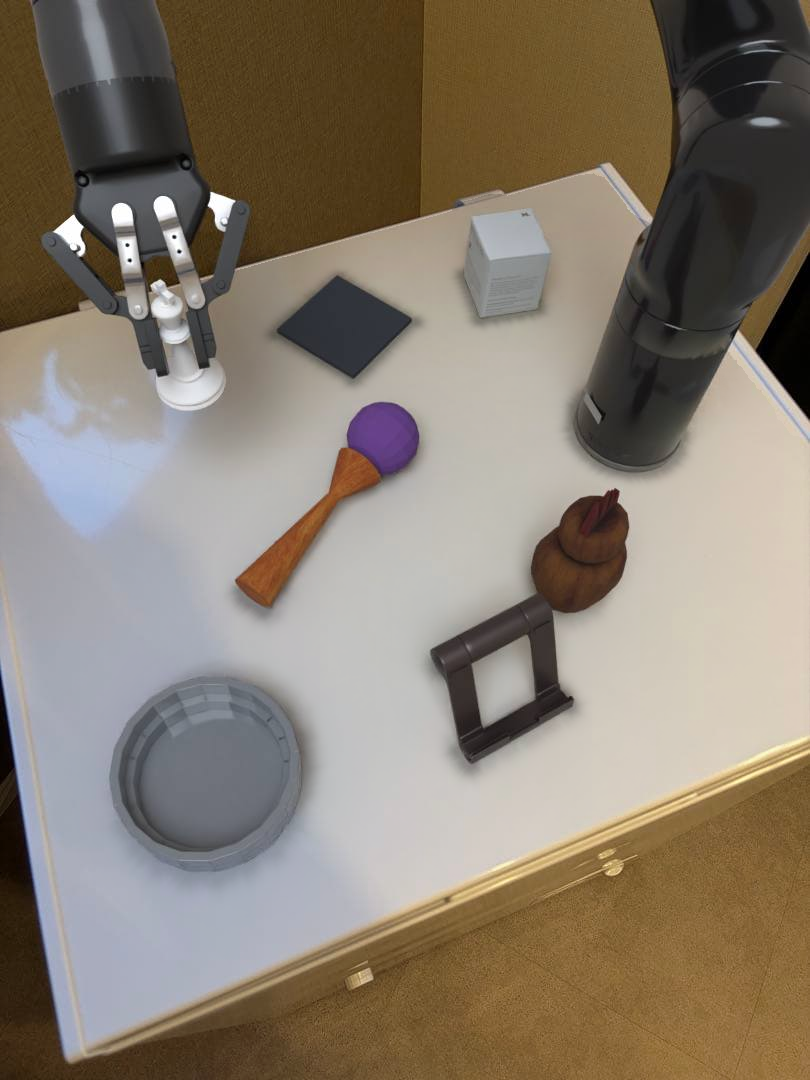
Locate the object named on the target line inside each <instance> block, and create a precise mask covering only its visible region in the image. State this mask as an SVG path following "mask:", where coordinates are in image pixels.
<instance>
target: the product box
mask: <svg viewBox="0 0 810 1080" xmlns="http://www.w3.org/2000/svg"><path fill="white" fill-rule="evenodd" d="M469 226H470V227H469V232H468V239H467V246H466V253H465V254H466V255H465V259H464V268H463V278H464V280H465V282H466V284H467V286H468V290H469V292H470V294H471V297H472V300H473V302H474V305H475V309H476V312H477V315H478V317H479V318H480V319H484V318H485V319H486V318H492V317H497V316H503V315H508V314H510V315H511V314H514V313H521V312H529V311H535V310H538V309H539V304H540V301H541V296H542V292H543V289H544V285H545V281H546V277H547V274H548V270H549V266H550V261H551V258H552V255H553V252H552V250H551V247H550V245H549V243H548V241H547V239H546V236H545V234H544V231H543V228H542V226H541V225H540V224H539V221H538V218H537V216H536V215H535V212H534V210H533V209H532V208H531V207H529V208H522V209H516V210H515V209H514V210H509V211H508V210H507V211H501V212H494V213H486V214H478V215H473V216H471V218H470V225H469Z"/></svg>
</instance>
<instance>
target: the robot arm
mask: <svg viewBox="0 0 810 1080" xmlns="http://www.w3.org/2000/svg"><path fill="white" fill-rule="evenodd" d="M29 2H30V6H31V8H32V15H33V18H34V25H35V32H36V39H37V40H36V41H37V45H38V51H39V56H40V60H41V61H40V62H41V64H42V68H43V72H44V76H45V79H46V83H47V86H48V91H49V93H50V97H51V102H52V106H53V109H54V112H55V116H56V120H57V124H58V127H59V131H60V135H61V139H62V142H63V146H64V150H65V154H66V157H67V162H68V165H69V168H70V172H71V176H72V180H73V184H74V185H73V186H74V197H73V201H72V206H71V208H72V214H73V215H71V216H70V217H69V218H68V219H66V220H65V221H64V222H63V223H62V224H61V225H60V226H58V227H57V228H55V230H53V231H51V230H50V231H46V232H44V233H43V234H42V236H41V238H40V243H41V246H42V248H43V249H44V250H45V251H46V252H47V254H49V256H50V257H51V258H52V259H53V261H55V262H56V264H57V265H58V266H59V267H60V268H61V269H62V270H63V271H64V272H65V274H66V275H67V276H68V277H69V278H70V279H71V280H72V281H73V282H74V284H75V285H76V286H77V287H78V288H79V289H80V291H82V293H83V294H84V295H85V296H86V297H87V298H88V299H89V301H91V303H92V304H93V305H94V306H95V307H96V308H97V310H98V311H99V312H101V313H102V314H104V315H112V316H117V317H123V318H126V319H127V320H128V321H130V323H131V324H132V326H133V330H134V333H135V334H134V335H135V337H136V341H137V345H138V348H139V353H140V356H141V360H142V363H143V365H144V366H145V368H146V369H147V370H155V373H156V375H157V376H158V377H163V376H168V375H169V374H170V371H169V366H168V362H167V359H168V358H167V354H166V351H165V347H164V343H163V342H164V341H162V340H161V338H160V335H159V327H160V325H159V323H158V319H157V318H156V317H155V316H154V315H153V313H152V310H151V305H152V303H151V299H150V293H149V286H148V275H147V269H146V262H148V261H150V260H152V259H154V258H157V257H164V258H170V259H171V261H172V262H171V263H172V264H173V267H174V270H175V273H176V276H177V278H178V281H179V284H180V286H181V289H182V292H183V295H184V298H185V304H186V308H187V311H186V312H185V317H186V321H187V322H188V325H189V329H190V333H191V334H190V337H191V341H192V345H193V349H194V350H193V351H195V354H196V358H197V362H198V366H199V369H205V368H210V362H209V358H213V357H214V358H216V356H217V355H216V354H217V348H218V346H217V343H216V339H215V335H214V334H215V333H214V331H213V326H212V322H211V318H210V314H209V306H210V304H211V303H212V302H213V301H214V300H216V299H218V298H219V297H221V296H223V295H225V294H227V293H228V292H229V291H230V290H231V286H232V284H233V279H234V275H235V272H236V269H237V264H238V260H239V257H240V253H241V249H242V247H243V246H242V245H243V242H244V238H245V234H246V232H247V227H248V224H249V220H250V216H251V213H252V212H251V211H252V210H251V209H252V208H251V206H250V204H249V203H248V202H247V201H246V200H243V199H237V200H235V199H233V198H230V197H227V196H224V195H221V194H219V193H216V192H213V191H211V187H210V185H209V183H208V182H207V180H206V179H205V177H203V175H202V174H201V172H200V170H199V169H198V166H197V162H196V161H197V160H196V156H195V152H194V148H193V143H192V139H191V135H190V134H191V133H190V130H189V126H188V121H187V117H186V111H185V108H184V104H183V103H184V102H183V98H182V95H181V92H180V86H179V82H178V78H177V77H178V72H177V71H178V70H177V66H176V63H175V61H174V59H173V56H172V55H173V54H172V51H171V45H170V43H169V38H168V35H167V32H166V29H165V26H164V22H163V20H162V17H161V14H160V12H159V8H158V6H157V2H156V0H29ZM649 3H650V8H651V10H652V13H653V16H654V20H655V25H656V28H657V31H658V36H659V39H660V44H661V48H662V49H661V50H662V53H663V57H664V62H665V69H666V73H667V78H668V84H669V91H670V99H671V115H672V116H671V117H672V118H671V133H670V135H671V136H670V137H671V138H670V159H669V164H670V165H669V170H668V173H667V177H666V180H665V183H664V185H663V190H662V193H661V195H660V198H659V201H658V204H657V207H656V209H655V211H654V215H653V217H652V220H651V223H650V224H648V225H647V226H646V227H645V228H644V229H643V230H642V231H641V233H640V234H639V235H638V237H637V239H636V241H635V242H634V245H633V247H632V250H631V253H630V256H629V258H628V261H627V262H628V263H627V265H626V268H625V271H624V274H623V277H622V280H621V282H620V286H619V289H618V291H617V295H616V298H615V301H614V304H613V307H612V310H611V313H610V316H609V317H608V321H607V324H606V327H605V330H604V333H603V336H602V337H601V338H602V339H601V342H600V345H599V346H598V350H597V354H596V356H595V359H594V362H593V365H592V368H591V370H590V373H589V377H588V379H587V382H586V384H585V388H584V391H583V393H582V395H581V399H580V400H579V403H578V405H577V408H576V409H575V413H574V418H573V426H574V432H575V435H576V438H577V440H578V442H579V443H580V445H581V446H582V448H583V449H584V450H585V451H586V452H587V453H588V454H589V455H590V456H591V457H592V458H594V459H595V460H596V461H598V462H599V463H601V464H603V465H605V466H607V467H610V468H612V469H615V470H619V471H622V472H623V471H624V472H632V473H635V472H636V473H638V472H640V473H641V472H648V471H651V470H654V469H657V468H659V467H661V466H663V465H665V464H666V463H668V462H669V461H670V460H671V459H672V458H673V456H674V455H675V453H676V452H677V450H678V448H679V447H680V444H681V440H682V438H683V436H684V434H685V432H686V430H687V429H688V426H689V425H690V423H691V421H692V419H693V417H694V415H695V414H696V412H697V410H698V408H699V407H700V404H701V402H702V400H703V398H704V396H705V394H706V393H707V391H708V389H709V387H710V386H711V383H712V382H713V379H714V377H715V376H716V374H717V372H718V370H719V368H720V366H721V364H722V362H723V361H724V358H725V356H726V355H727V352H728V351H729V349H730V346H731V345H732V343H733V341H734V339H735V337H736V335H737V333H738V331H739V329H740V327H741V325H742V324H743V322H744V320H745V318H746V316H747V314H748V312H749V311H750V309H751V308H752V305H753V304H754V302H755V301H756V300H758V299H759V298H761V297H762V296H763V295H764V294H766V293H767V292H768V291H769V290H770V289H771V287H773V285H774V284H775V282H776V281H777V280H778V278H779V276H781V274H782V272H783V270H784V269H785V267H786V265H787V264H788V262H789V261H790V258H791V257H792V255H793V253H794V252H795V250H796V248H797V247H798V246H799V243H800V242H801V241H802V239H803V237H804V235H805V234H806V232H807V230H808V229H809V227H810V28H809V25H808V22H807V18H806V16H805V13H804V10H803V7H802V4H801V0H649ZM208 209H210V210H211V211H212V212H213V214H214V225H215V227H216V229H217V230H218V231H220V232H222V233H223V234H224V235H223V238H222V240H221V246H220V249H219V253H218V257H217V261H216V264H215V268H214V272H213V275H212V277H210V278H209V279H208V280H206V281H204V282H202V281H201V278H200V275H199V271H198V268H197V266H196V263H195V260H194V257H193V253H192V250H191V247H192V246H193V245H194V242H195V240H196V237H197V235H198V232H199V231H200V230H199V229H200V228H201V225H202V223H203V220H204V218H205V215H206V213H207V210H208ZM85 230H86V231H87V232H88V233H89V234H90V235H91V236H93V237H94V238H95V239H96V240H97V241H98V242H99V243H100V244H101V245H103V246H104V248H106V249H107V250H108V251H109V252H110V253H112V254H113V255H114V257H116V258H118V259H119V265H120V271H121V277H122V281H123V285H124V291H125V295H126V296H123V295H120V294H119V295H117V294H116V292H114V290H113V289H112V288H111V287H110V286H109V285H108V284H107V283H106V281H105V280H104V279H103V278H102V277H101V275H100V274H99V273H98V272H97V270H95V269H94V268H93V267H92V265H91V264H90V263H89V262H88V261H87V260H86V258H85V255H86V254H87V252H88V245H87V243H86V241H85V239H84V232H85Z"/></svg>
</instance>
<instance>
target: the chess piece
mask: <svg viewBox="0 0 810 1080" xmlns="http://www.w3.org/2000/svg"><path fill="white" fill-rule="evenodd" d="M149 286H150V288H151V291H152V292H153V293H155V294H156V295H158V296H156V297H155V298H154V299H153V301H152V302H151V312H152V315H153V316H154V318H155V317H156V319H157V321H159V322H160V325H159V335H160V338H161V340H162V342H164V343H165V344H168V345H170V348H171V356H169V357H168V358H167V362H168V366H169V371H170V374H169V375H168V376H163V377H158V376H157V374H156V375H155V387H156V393H157V395H158V397H159V398H160V400H161V401H162V402H163V403H164V404H165V405H167V407H170V408H172V409H175V410H178V411H183V412H184V411H185V412H192V411H199V410H202V409H204V408H207V407H209V406H210V405H212V404H214V403H215V402H216V401H217V400H218V399H219V398H220V397H221V396H222V394H223V392H224V390H225V389H226V384H227V377H226V373H225V369H223V366H222V365H221V363H220V362H219V360H218V359H217V358H216V357H213V358H209V362H210V368H205V369H199V366H198V362H197V358H196V354H195V350H192V349H191V346H190V345H189V342H188V341H187V340H188V339H189V338H190V337H191V333H190V329H189V325H188V321H187V319H184V318H182V316H183V312H184V303H183V300H182V299H181V298H180V296H178V295H176V294H174V293H172V292H171V291H170V290H168V287H167V285H166V282H165V281H163V280H162V279H161V278H160V279H158V280H157V281H155V280H154V282H153V283H151V284H150V285H149Z"/></svg>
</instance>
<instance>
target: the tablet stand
mask: <svg viewBox="0 0 810 1080" xmlns="http://www.w3.org/2000/svg"><path fill="white" fill-rule="evenodd" d="M525 636H527V639H528V640H529V647H530V655H531V656H530V657H531V666H532V667H531V668H532V675H533V686H534V695H535V696H534V697H535V699H534V700H532V701H531V702H529V703H526V704H525V705H523V706H522V707H520V708H518V709H516V710H515V711H513V712H511V713H509V714H507V715H505V716H504V717H501V718H500V719H499V720H497V721H495V722H493V723H492V724H490V725H488V726H486V727H485V728H484V725H483V724H482V723H483V722H482V719H481V718H482V717H481V711H480V707H479V700H478V699H479V698H478V693H477V687H476V681H475V676H474V669H473V664H475V663H476V662H479V661H481V660H482V659H484V658H486V657H487V656H489V655H491V654H493V653H495V652H497V651H498V650H501V649H502V648H504V647H506V646H508V645H510V644H511V643H514V642H516V641H517V640H519V639H521V638H523V637H525ZM556 644H557V643H556V633H555V621H554V612H553V609H552V608H551V606H550V605H549V603H548V601H547V600H546V599H545V598H544V597H543V596H542V595H541V594H538V593H535V594H533V595H530V596H529V597H528V598H526V599H524V600H522V601H520V602H518V603H516V604H514V605H512V606H510V607H508V608H506V609H505V610H502V611H501V612H499V613H497V614H495V615H493V616H491V617H489V618H487V619H485V620H483V621H482V622H480V623H478V624H476V625H474V626H472V627H471V628H467V630H464V631H463V632H461V633H459V634H457V635H455V636H453V637H450V638H449V639H448V640H447V639H446V640H445V641H444V642H441V643H439V644H438V645H436V646H434V647H432V648H430V650H429V653H430V657H431V661H432V663H433V665H434V667H435V668H436V670H437V672H438V673H439V674H440V676H441V677H442V678H443V679H444V681H445V683H446V687H447V691H448V697H449V699H450V701H449V702H450V704H451V710H452V711H451V712H452V716H453V720H454V725H455V731H456V737H457V741H458V746H459V749H460V751H461V752H462V754H463V756H464V758H465V759H466V761H467V762H468V763H469V764H471V765H474V764H475V763H477V762H479V761H480V760H482V759H485V758H486V757H488V756H490V755H491V754H493V753H494V752H497V751H498V750H500V749H501V748H503V747H505V746H506V745H509V744H510V743H512V742H514V741H515V740H517V739H519V738H521V737H523V736H524V735H526V734H527V733H529V732H531V731H533V730H534V729H536V728H538V727H540V726H541V725H543V724H545V723H546V722H548V721H551V720H552V719H554V718H556V717H557V716H559V715H561V714H563V713H564V712H566V711H567V710H569V709H571V708H573V705H574V701H575V698H574V697H573V696H572V695H569V696H567V695H566V693H564V691H563V690H561V685H560V681H559V673H558V672H559V671H558V659H557V645H556Z"/></svg>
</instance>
